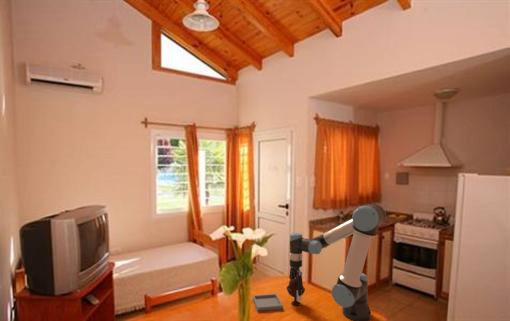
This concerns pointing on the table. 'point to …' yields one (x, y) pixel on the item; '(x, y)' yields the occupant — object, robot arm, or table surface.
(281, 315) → the table surface
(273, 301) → the tray
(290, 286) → the ice cream bowl
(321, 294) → the table surface
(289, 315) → the table surface
